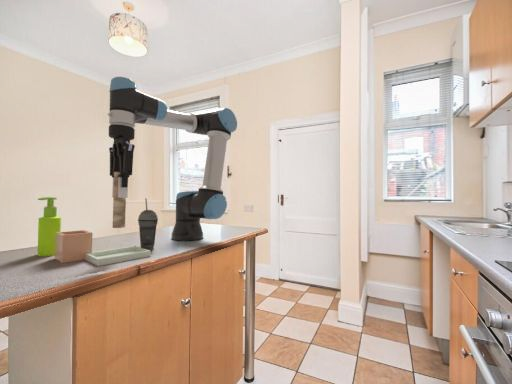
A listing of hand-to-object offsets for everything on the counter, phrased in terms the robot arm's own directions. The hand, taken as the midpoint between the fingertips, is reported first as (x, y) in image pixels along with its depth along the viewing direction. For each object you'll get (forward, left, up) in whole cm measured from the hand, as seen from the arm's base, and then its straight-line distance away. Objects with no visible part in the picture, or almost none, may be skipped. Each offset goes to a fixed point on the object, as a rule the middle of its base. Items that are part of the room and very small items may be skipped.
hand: (119, 197), depth 82 cm
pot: (+10, -9, -20) cm, 24 cm away
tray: (0, 0, -20) cm, 20 cm away
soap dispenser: (+14, -21, -21) cm, 33 cm away
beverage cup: (-14, -8, -21) cm, 26 cm away
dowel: (0, 0, -10) cm, 10 cm away
